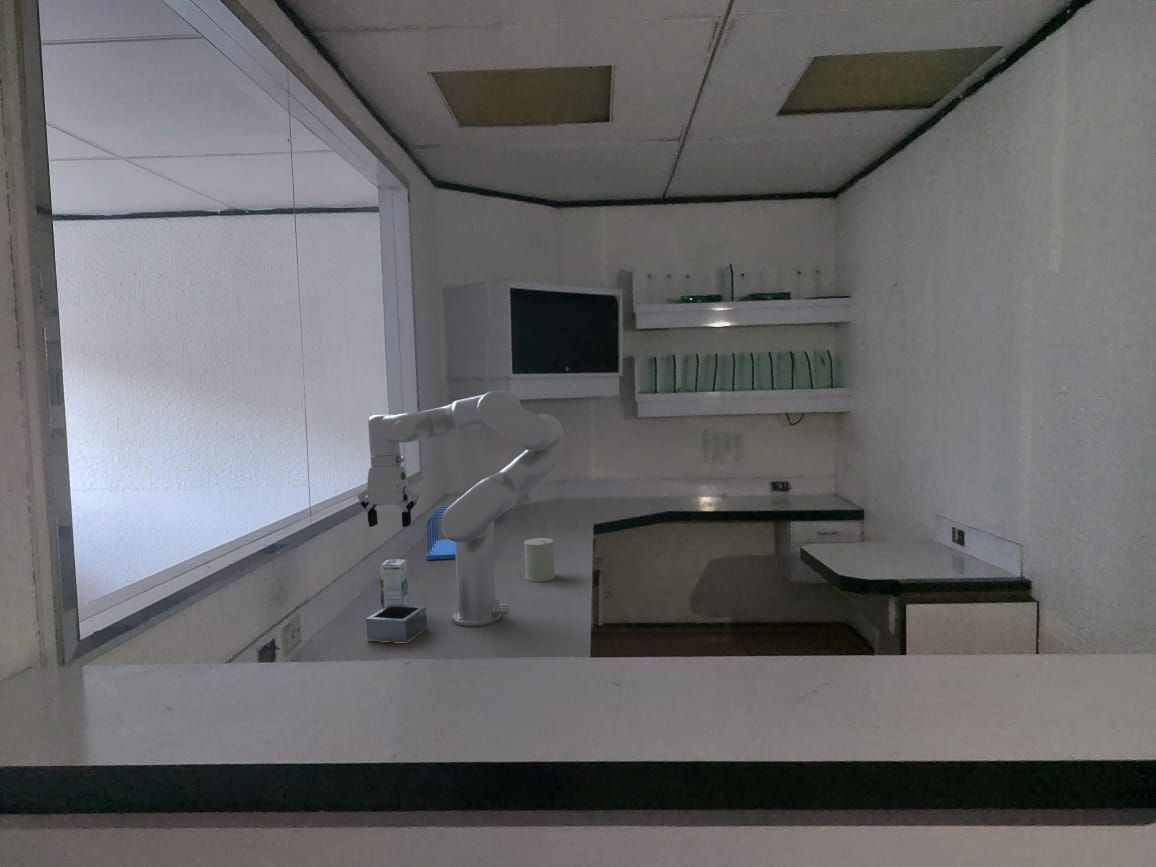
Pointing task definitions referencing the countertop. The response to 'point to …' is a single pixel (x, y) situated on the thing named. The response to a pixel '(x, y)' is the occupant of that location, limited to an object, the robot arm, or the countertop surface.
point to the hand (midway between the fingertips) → (389, 525)
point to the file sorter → (439, 541)
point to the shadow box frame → (396, 623)
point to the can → (539, 559)
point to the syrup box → (393, 583)
